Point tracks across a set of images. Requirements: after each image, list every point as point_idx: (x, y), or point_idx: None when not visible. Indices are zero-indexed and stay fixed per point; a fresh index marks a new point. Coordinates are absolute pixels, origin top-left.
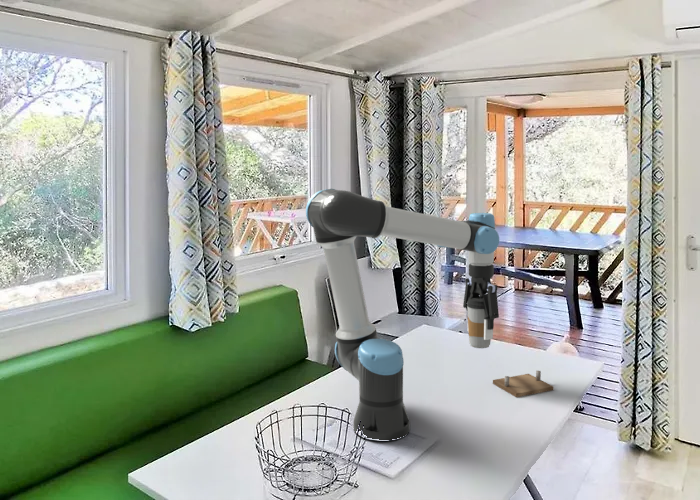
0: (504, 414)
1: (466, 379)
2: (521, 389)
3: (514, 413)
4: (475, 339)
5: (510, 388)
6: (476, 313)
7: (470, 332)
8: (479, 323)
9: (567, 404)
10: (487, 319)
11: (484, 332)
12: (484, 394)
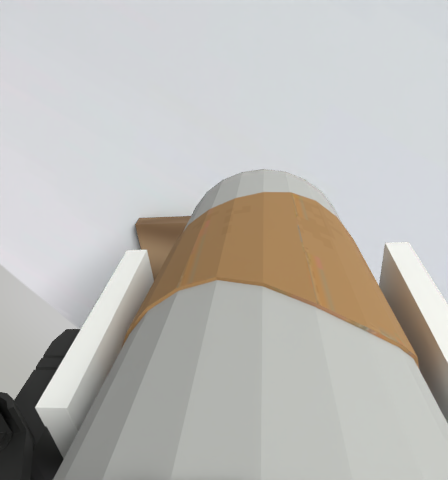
0: (5, 99)
1: (368, 139)
2: (164, 258)
3: (12, 139)
4: (209, 205)
5: (182, 231)
6: (101, 420)
7: (254, 206)
8: (133, 322)
9: (65, 311)
10: (45, 419)
11: (120, 287)
12: (193, 127)
